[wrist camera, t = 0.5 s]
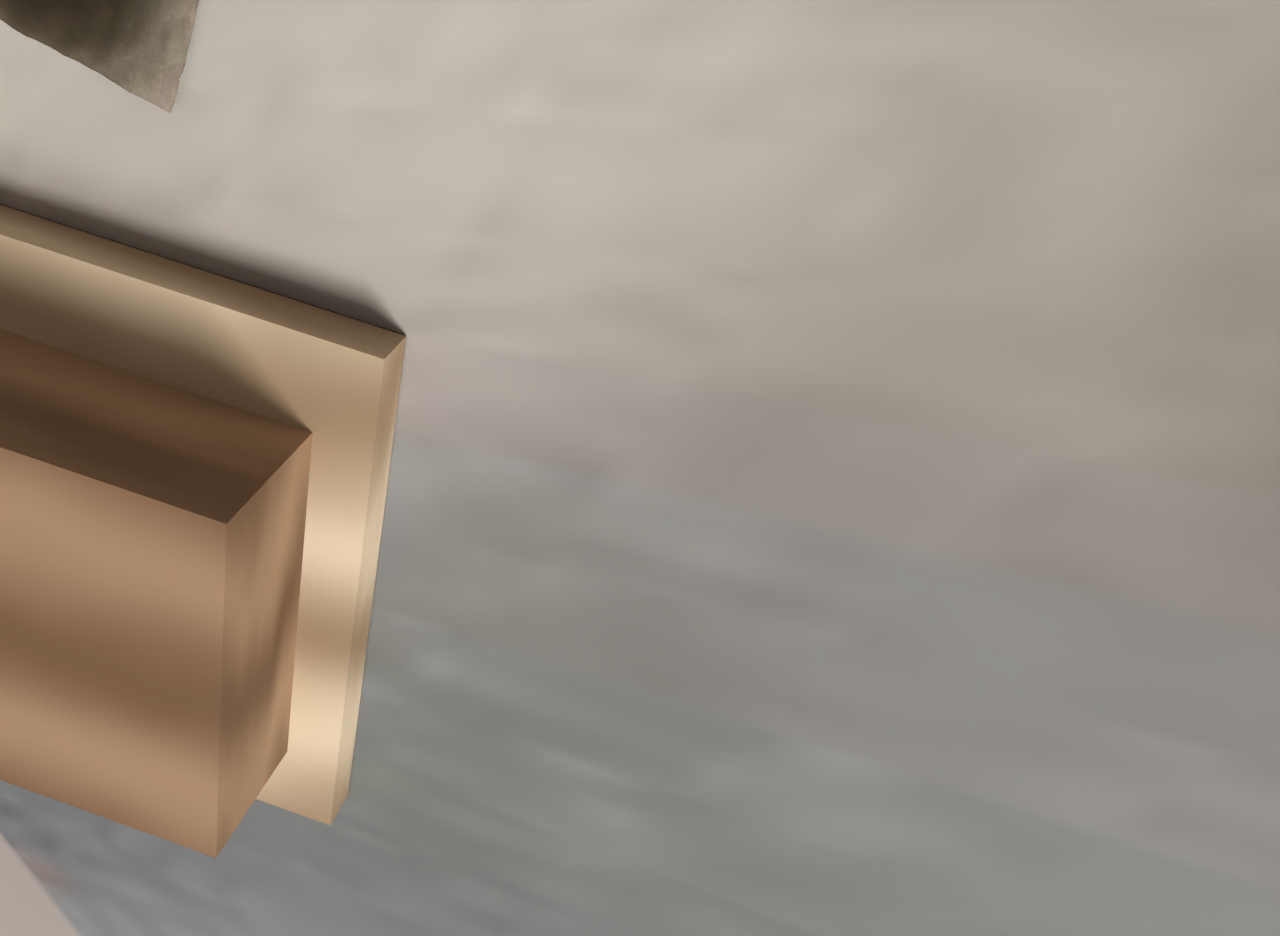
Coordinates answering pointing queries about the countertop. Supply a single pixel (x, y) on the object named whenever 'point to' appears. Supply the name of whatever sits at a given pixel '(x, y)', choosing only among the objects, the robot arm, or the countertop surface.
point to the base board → (254, 377)
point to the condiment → (114, 38)
